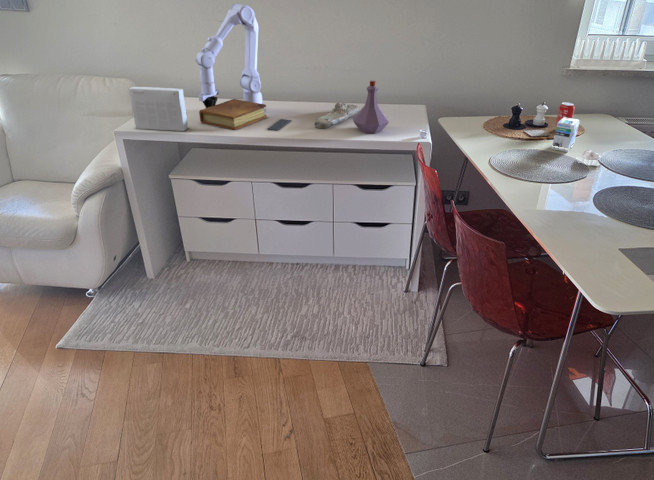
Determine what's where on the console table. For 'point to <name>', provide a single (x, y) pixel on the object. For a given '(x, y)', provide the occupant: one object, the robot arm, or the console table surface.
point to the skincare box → (158, 108)
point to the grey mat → (279, 124)
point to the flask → (371, 113)
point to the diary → (232, 114)
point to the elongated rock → (337, 115)
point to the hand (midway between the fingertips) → (211, 114)
